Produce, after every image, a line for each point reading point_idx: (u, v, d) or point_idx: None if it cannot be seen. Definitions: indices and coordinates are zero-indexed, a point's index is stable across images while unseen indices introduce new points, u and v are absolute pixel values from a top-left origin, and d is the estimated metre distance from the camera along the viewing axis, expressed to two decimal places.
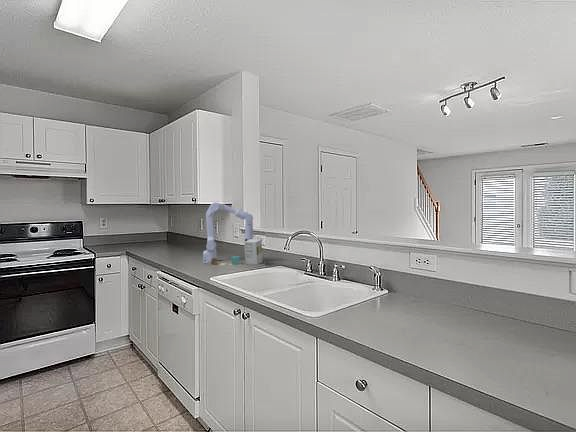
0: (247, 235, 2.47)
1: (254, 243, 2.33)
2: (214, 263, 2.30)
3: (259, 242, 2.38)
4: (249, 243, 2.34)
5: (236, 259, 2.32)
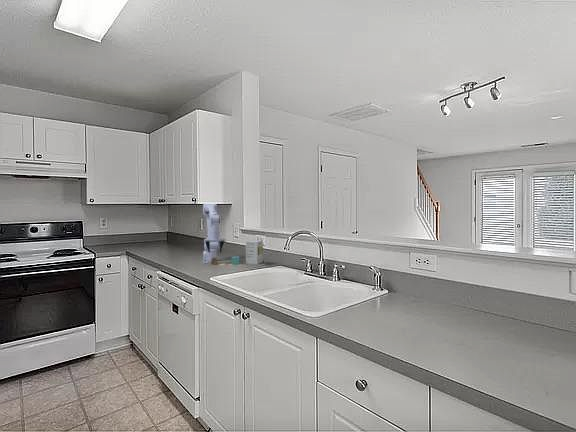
0: None
1: (255, 243, 2.35)
2: (214, 263, 2.30)
3: (260, 243, 2.40)
4: (251, 243, 2.36)
5: (236, 259, 2.32)
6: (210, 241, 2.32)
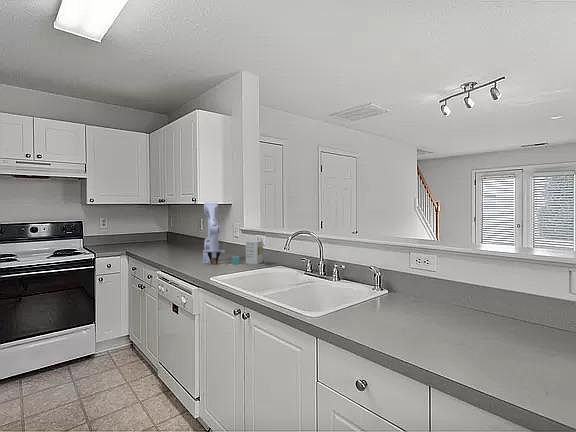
0: None
1: (256, 243, 2.35)
2: (214, 263, 2.30)
3: (260, 243, 2.40)
4: (251, 243, 2.36)
5: (236, 259, 2.32)
6: (209, 252, 2.32)
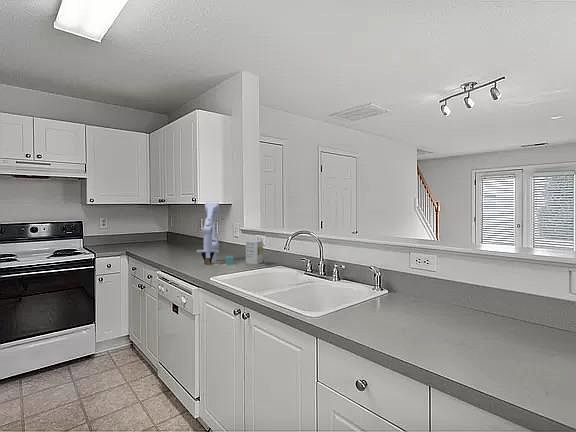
0: None
1: (256, 243, 2.35)
2: (208, 263, 2.29)
3: (260, 243, 2.40)
4: (251, 243, 2.36)
5: (230, 259, 2.31)
6: (203, 252, 2.31)
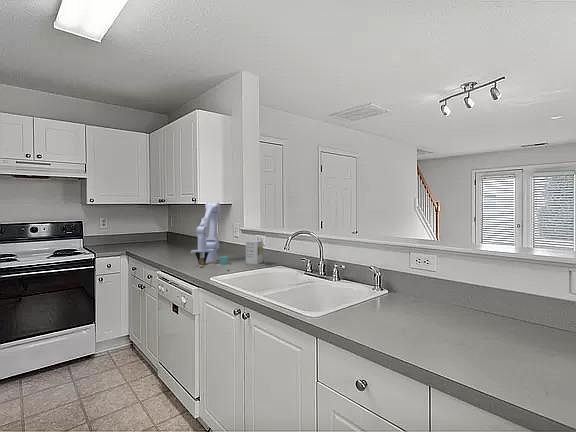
0: None
1: (256, 243, 2.35)
2: (202, 263, 2.29)
3: (260, 243, 2.40)
4: (251, 243, 2.36)
5: (224, 259, 2.31)
6: (197, 252, 2.31)
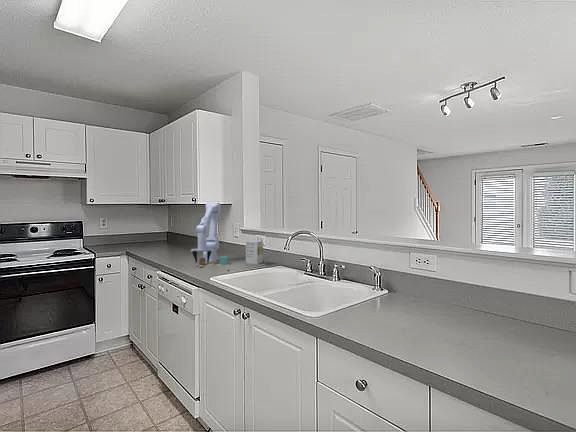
0: None
1: (256, 243, 2.35)
2: (202, 263, 2.29)
3: (260, 243, 2.40)
4: (251, 243, 2.36)
5: (224, 259, 2.31)
6: (197, 251, 2.31)
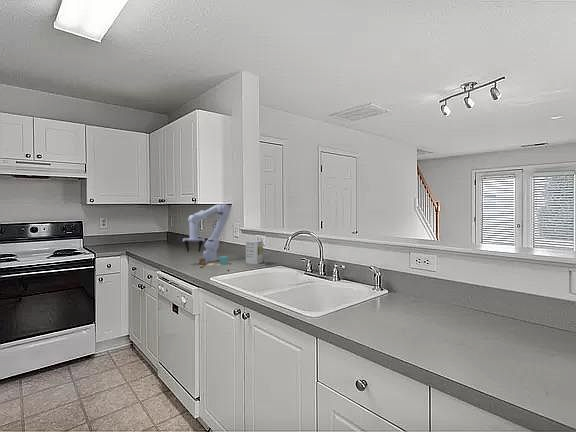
0: None
1: (256, 243, 2.35)
2: (202, 263, 2.29)
3: (260, 243, 2.40)
4: (251, 243, 2.36)
5: (224, 259, 2.31)
6: None
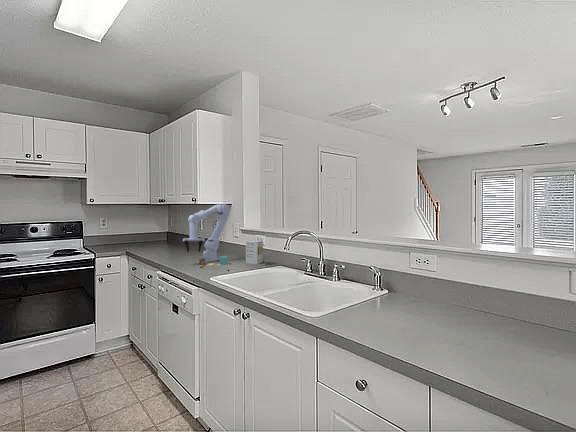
0: None
1: (255, 243, 2.35)
2: (202, 263, 2.29)
3: (260, 243, 2.40)
4: (251, 243, 2.36)
5: (224, 259, 2.31)
6: None
